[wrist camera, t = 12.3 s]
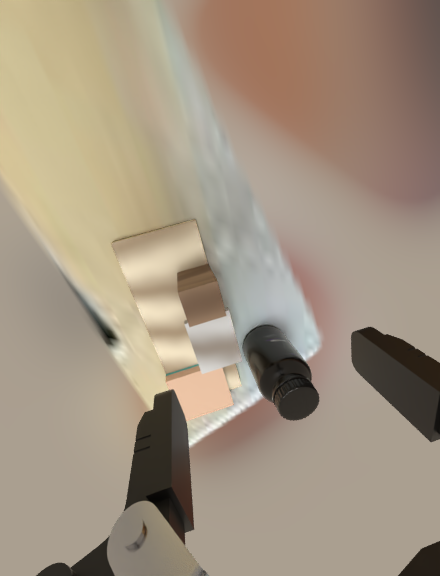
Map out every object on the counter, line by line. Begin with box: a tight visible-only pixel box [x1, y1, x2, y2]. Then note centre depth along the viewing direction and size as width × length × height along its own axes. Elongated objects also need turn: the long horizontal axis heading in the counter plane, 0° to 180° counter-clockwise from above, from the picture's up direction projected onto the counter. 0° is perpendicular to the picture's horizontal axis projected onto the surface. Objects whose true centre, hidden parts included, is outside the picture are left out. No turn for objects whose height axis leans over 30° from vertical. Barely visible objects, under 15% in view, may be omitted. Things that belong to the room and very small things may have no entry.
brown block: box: [177, 264, 242, 374], centre depth 29 cm, size 11×5×7 cm, turn 14°
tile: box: [166, 364, 234, 421], centre depth 35 cm, size 2×8×8 cm
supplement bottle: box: [243, 326, 319, 420], centre depth 32 cm, size 7×7×12 cm
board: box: [111, 219, 241, 390], centre depth 33 cm, size 26×10×1 cm, turn 14°
